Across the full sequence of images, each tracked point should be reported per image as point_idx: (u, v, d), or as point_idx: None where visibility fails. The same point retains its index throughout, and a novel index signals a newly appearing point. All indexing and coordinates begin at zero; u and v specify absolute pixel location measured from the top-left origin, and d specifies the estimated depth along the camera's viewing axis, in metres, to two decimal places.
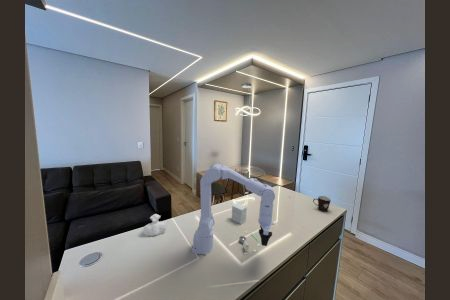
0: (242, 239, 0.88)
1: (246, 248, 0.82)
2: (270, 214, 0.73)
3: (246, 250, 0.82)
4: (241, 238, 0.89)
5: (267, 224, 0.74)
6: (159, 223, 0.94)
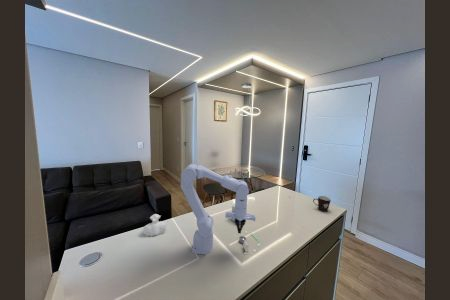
0: (242, 239, 0.88)
1: (246, 248, 0.82)
2: (245, 207, 0.78)
3: (246, 250, 0.82)
4: (241, 238, 0.89)
5: (234, 214, 0.81)
6: (159, 223, 0.94)
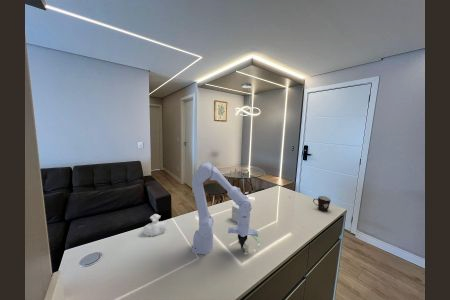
0: None
1: (246, 248, 0.82)
2: (247, 224, 0.79)
3: (246, 250, 0.82)
4: None
5: (237, 230, 0.82)
6: (159, 223, 0.94)
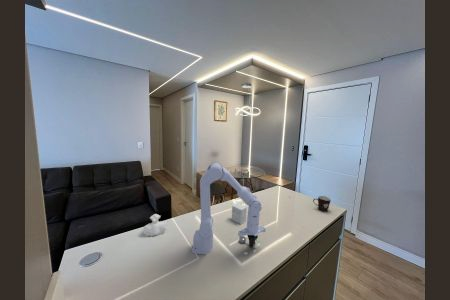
0: (243, 239, 0.89)
1: (255, 244, 0.85)
2: (257, 223, 0.80)
3: (255, 246, 0.85)
4: (242, 239, 0.89)
5: (248, 231, 0.81)
6: (159, 223, 0.94)
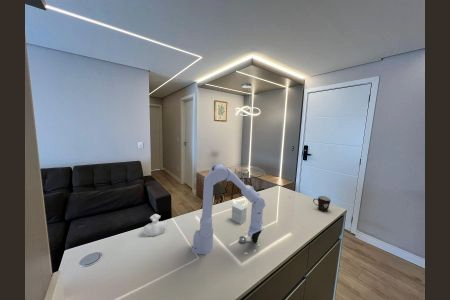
0: (244, 239, 0.89)
1: None
2: (261, 219, 0.84)
3: None
4: (242, 239, 0.89)
5: (255, 228, 0.83)
6: (159, 223, 0.94)
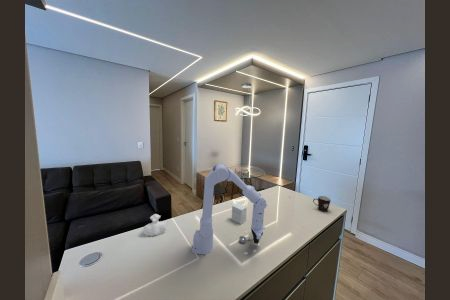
0: (244, 238, 0.89)
1: None
2: (262, 220, 0.83)
3: None
4: (243, 239, 0.89)
5: (259, 229, 0.83)
6: (159, 223, 0.94)
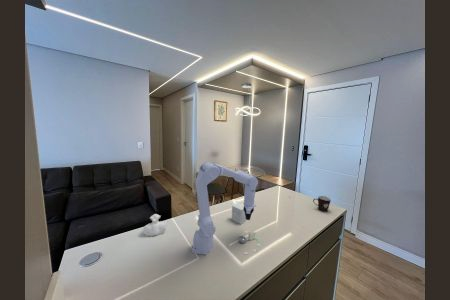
0: (244, 238, 0.89)
1: None
2: (254, 196, 0.91)
3: None
4: (243, 239, 0.89)
5: (250, 206, 0.90)
6: (159, 223, 0.94)
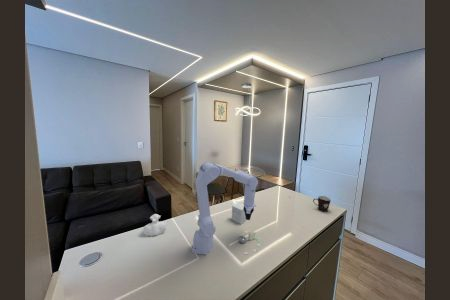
0: (244, 238, 0.89)
1: None
2: (254, 196, 0.91)
3: None
4: (243, 239, 0.89)
5: (250, 206, 0.90)
6: (159, 223, 0.94)
